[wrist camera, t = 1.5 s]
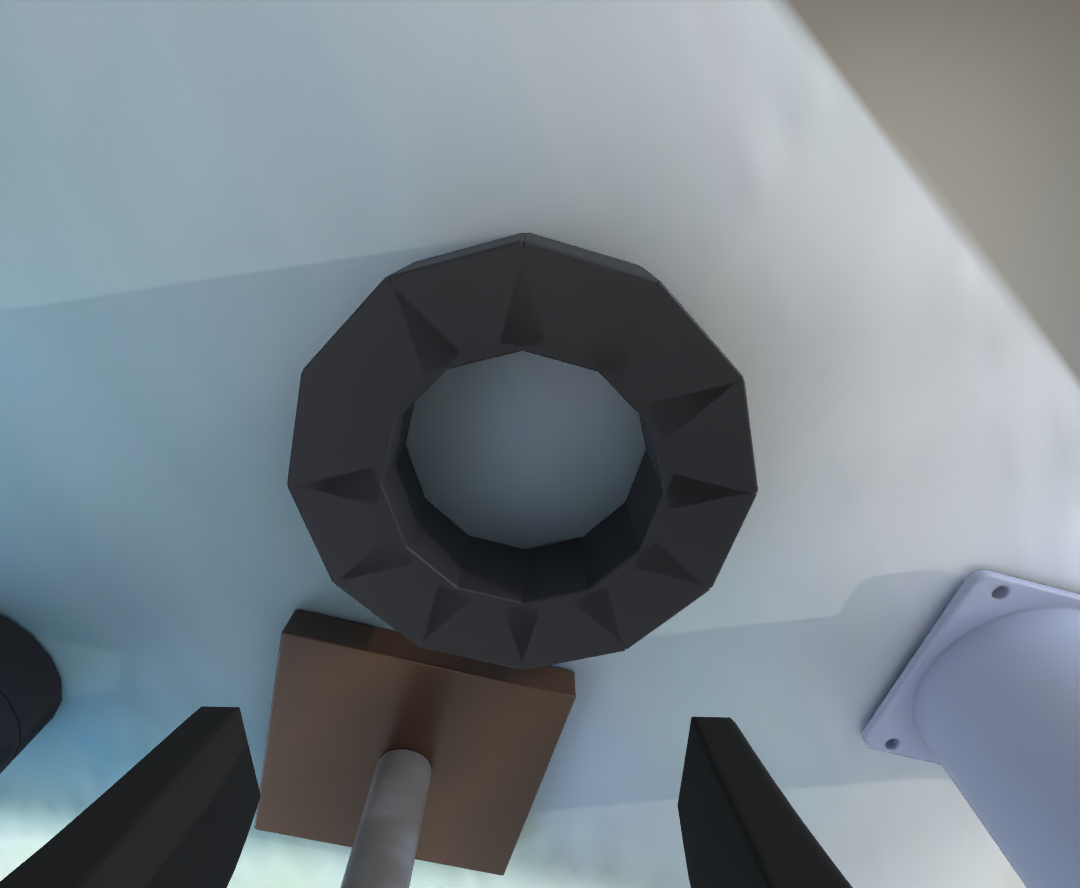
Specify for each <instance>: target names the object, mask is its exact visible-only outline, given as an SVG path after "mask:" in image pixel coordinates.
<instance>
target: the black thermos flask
mask: <svg viewBox="0 0 1080 888" xmlns="http://www.w3.org/2000/svg"><path fill="white" fill-rule="evenodd" d="M60 702H61V679H60V677H59V674H58V672H57V670H56V668H55V665H54V663H53V661H52V659H51V657H50V656H49V655H48V654H47V653H46V651H45V650H44V649H43V648H42V647H41V646H40V644H39V643H38V642H37V641H36V640H35V639H34V637H32V636H31V635H29V634H28V633H27V632H25V631H24V630H23V629H21V628H20V627H19V626H17V625H16V624H14V623H13V622H12V621H10V620H9V619H7V618H5V617H2V616H0V773H1V772H2V771H3V770H4V769H5V768H6V767H7V766H8V765H9V764H10V763H11V761H12V760H13V759H14V758H15V757H16V756H17V755H18V754H19V753H20V752H21V751H22V750H23V749H24V748H25V747H26V746H27V744H28V743H29V742H30V741H31V740H32V739H33V738H34V737H35V736H36V735H37V734H38V733H39V732H40V731H41V730H42V728H43V727H44V726H45V725H46V724H47V723H48V722H49V721H50V720H51V719H52V718H53V716H54V714H55V712H56V710H57V708H58V706H59V704H60Z"/></svg>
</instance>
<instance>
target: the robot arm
mask: <svg viewBox="0 0 1080 888" xmlns="http://www.w3.org/2000/svg"><path fill="white" fill-rule="evenodd" d="M997 587H999V588H998V589H996V590H995V591H993V590H994V589H995V588H997ZM862 738H863V740H864V742H865V743H866V745H867V746H868V747H869V748H871V749H874V750H879V751H883V752H888V753H892V754H897V755H901V756H906V757H910V758H915V759H919V760H924V761H928V762H933V763H937V764H941V765H942V766H943V768H944V769H945V771H946V772H947V773H948V775H949V776H950V778H951V779H952V781H953V782H954V784H955V785H956V786H957V788H958V789H959V791H960V792H961V794H962V795H963V797H964V798H965V799H966V801H967V802H968V804H969V805H970V807H971V808H972V810H973V811H974V812H975V814H976V815H977V817H978V818H979V820H980V821H981V823H982V824H983V825H984V827H985V828H986V830H987V831H988V833H989V834H990V836H991V837H992V838H993V840H994V841H995V843H996V844H997V846H998V847H999V849H1000V850H1001V851H1002V853H1003V854H1004V856H1005V857H1006V859H1007V860H1008V862H1009V863H1010V865H1011V866H1012V867H1013V869H1014V870H1015V872H1016V873H1017V875H1018V876H1019V878H1020V879H1021V880H1022V882H1023V883H1024V885H1025V886H1026V888H1080V594H1076V593H1073V592H1069V591H1065V590H1061V589H1057V588H1053V587H1050V586H1046V585H1042V584H1038V583H1034V582H1031V581H1027V580H1023V579H1019V578H1015V577H1011V576H1008V575H1004V574H1000V573H996V572H992V571H988V570H979V571H975V572H973V573H972V574H970V575H969V576H968V577H967V578H966V579H965V581H964V582H963V584H962V585H961V587H960V588H959V590H958V591H957V592H956V594H955V595H954V597H953V598H952V600H951V601H950V603H949V604H948V606H947V607H946V609H945V610H944V612H943V613H942V615H941V616H940V618H939V619H938V620H937V622H936V623H935V625H934V626H933V628H932V629H931V631H930V632H929V634H928V635H927V637H926V638H925V640H924V641H923V643H922V644H921V646H920V647H919V648H918V650H917V651H916V653H915V654H914V656H913V657H912V659H911V660H910V662H909V663H908V665H907V666H906V668H905V669H904V671H903V672H902V674H901V675H900V676H899V678H898V679H897V681H896V682H895V684H894V685H893V687H892V688H891V690H890V691H889V693H888V694H887V696H886V697H885V699H884V700H883V702H882V703H881V705H880V706H879V707H878V709H877V710H876V712H875V713H874V715H873V716H872V718H871V719H870V721H869V722H868V724H867V725H866V727H865V728H864V730H863V732H862ZM260 797H261V795H260V791H259V787H258V783H257V779H256V775H255V770H254V766H253V762H252V758H251V754H250V750H249V746H248V741H247V737H246V733H245V729H244V725H243V721H242V717H241V712H240V708H239V707H200V708H199V709H198V710H197V711H196V712H195V713H193V714H192V715H191V716H190V717H189V718H188V719H187V720H185V721H184V722H183V723H182V724H181V725H180V726H179V727H178V728H176V729H175V730H174V731H173V732H172V733H171V734H170V735H169V736H167V737H166V738H165V739H164V740H163V741H162V742H161V743H160V744H159V745H157V746H156V747H155V748H154V749H153V750H152V751H151V752H150V753H148V754H147V755H146V756H145V757H144V758H143V759H142V760H141V761H140V762H138V763H137V764H136V765H135V766H134V767H133V768H132V769H131V770H130V771H128V772H127V773H126V774H125V775H124V776H123V777H122V778H121V779H119V780H118V781H117V782H116V783H115V784H114V785H113V786H112V787H111V788H109V789H108V790H107V791H106V792H105V793H104V794H103V795H101V796H100V797H99V798H98V799H97V800H96V801H95V802H93V803H92V804H91V805H90V806H89V807H88V808H87V809H85V810H84V811H83V812H82V813H81V814H80V815H79V816H77V817H76V818H75V819H74V820H73V821H72V822H71V823H69V824H68V825H67V826H66V827H65V828H64V829H63V830H61V831H60V832H59V833H58V834H57V835H56V836H55V837H53V838H52V839H51V840H50V841H49V842H48V843H46V844H45V845H44V846H43V847H42V848H40V849H39V850H38V851H37V852H36V853H34V854H33V855H32V856H31V857H30V858H28V859H27V860H26V861H25V862H23V863H22V864H21V865H20V866H19V867H17V868H16V869H15V870H14V871H13V872H11V873H10V874H9V875H8V876H7V877H5V878H4V879H3V880H2V881H0V888H227V886H228V883H229V881H230V879H231V877H232V875H233V873H234V870H235V868H236V865H237V862H238V860H239V857H240V854H241V852H242V849H243V846H244V843H245V841H246V838H247V835H248V832H249V829H250V827H251V824H252V821H253V818H254V815H255V812H256V809H257V806H258V803H259V800H260ZM678 810H679V817H680V824H681V831H682V838H683V844H684V851H685V857H686V863H687V869H688V876H689V881H690V885H691V888H852V886H851V885H850V884H849V882H848V881H847V880H846V879H845V877H844V876H843V875H842V873H841V872H840V871H839V870H838V868H837V867H836V865H835V864H834V863H833V861H832V860H831V859H830V857H829V856H828V855H827V853H826V852H825V851H824V849H823V848H822V847H821V845H820V844H819V843H818V841H817V840H816V839H815V837H814V836H813V835H812V833H811V832H810V831H809V829H808V828H807V827H806V825H805V824H804V823H803V821H802V820H801V818H800V817H799V816H798V814H797V813H796V812H795V810H794V809H793V807H792V806H791V805H790V803H789V802H788V800H787V799H786V797H785V796H784V795H783V793H782V792H781V790H780V789H779V787H778V786H777V784H776V783H775V782H774V780H773V779H772V777H771V776H770V774H769V773H768V771H767V770H766V768H765V767H764V765H763V764H762V763H761V761H760V760H759V758H758V757H757V755H756V754H755V752H754V751H753V749H752V747H751V746H750V744H749V743H748V741H747V740H746V738H745V737H744V735H743V734H742V732H741V731H740V729H739V728H738V726H737V724H736V723H735V722H734V721H733V720H732V719H731V718H721V717H692V718H691V724H690V731H689V737H688V743H687V750H686V756H685V762H684V769H683V775H682V782H681V788H680V794H679V801H678Z"/></svg>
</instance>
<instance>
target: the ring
mask: <svg viewBox="0 0 1080 888" xmlns="http://www.w3.org/2000/svg"><path fill="white" fill-rule="evenodd" d="M522 350H523V351H526V352H530V353H533V354H537V355H541V356H544V357H548V358H551V359H555V360H559V361H562V362H566V363H569V364H573V365H576V366H580V367H584V368H587V369H591V370H594V371H598V372H599V373H600V374H601V375H602V376H603V377H604V378H605V379H606V380H607V381H608V382H609V383H610V384H611V385H612V386H613V387H614V388H615V389H616V390H617V391H618V393H619V394H620V395H621V396H622V397H623V398H624V399H625V400H626V401H627V402H628V403H629V404H630V405H631V406H632V407H633V408H634V409H635V410H636V411H637V412H638V413H639V416H640V421H641V426H642V431H643V436H644V441H645V446H646V451H645V454H644V457H643V459H642V462H641V464H640V467H639V470H638V472H637V475H636V477H635V480H634V483H633V485H632V488H631V490H630V493H629V496H628V498H627V501H626V503H624V504H623V505H622V506H621V507H619V508H618V509H617V510H616V511H614V512H613V513H612V514H611V515H610V516H608V517H607V518H606V519H605V520H603V521H602V522H601V523H600V524H598V525H597V526H596V527H595V528H593V529H592V530H591V531H590V532H589V533H587V534H586V535H585V536H584V537H582V538H577V539H572V540H568V541H563V542H558V543H554V544H549V545H544V546H539V547H535V548H530V549H525V550H524V549H520V548H516V547H512V546H508V545H504V544H500V543H495V542H491V541H487V540H483V539H479V538H475V537H471V536H468V535H467V534H466V533H465V532H464V531H462V530H461V529H460V528H459V527H458V526H457V525H455V524H454V523H453V522H452V521H451V520H449V519H448V518H447V517H446V516H445V515H444V514H442V513H441V512H440V511H439V510H438V509H436V508H435V507H434V506H433V505H432V504H431V503H429V502H428V501H427V500H426V499H425V497H424V494H423V492H422V489H421V486H420V483H419V481H418V478H417V475H416V473H415V470H414V467H413V465H412V462H411V459H410V457H409V454H408V451H407V448H406V446H405V444H406V439H407V434H408V430H409V425H410V420H411V415H412V411H413V406H414V402H415V401H416V400H417V399H418V398H419V397H420V396H421V395H422V394H423V393H424V392H425V391H426V390H427V389H428V388H429V387H430V386H431V385H432V384H433V383H434V382H435V381H436V380H437V379H438V378H439V377H440V376H441V375H442V374H443V373H444V372H445V371H446V370H447V369H450V368H454V367H458V366H462V365H466V364H470V363H474V362H478V361H482V360H486V359H490V358H494V357H498V356H502V355H506V354H510V353H514V352H518V351H522ZM287 483H288V488H289V490H290V492H291V495H292V497H293V499H294V501H295V503H296V505H297V507H298V509H299V512H300V514H301V516H302V518H303V520H304V522H305V524H306V527H307V529H308V531H309V533H310V535H311V537H312V539H313V541H314V544H315V546H316V548H317V550H318V552H319V554H320V556H321V558H322V561H323V563H324V565H325V567H326V569H327V571H328V573H329V576H330V578H331V580H332V582H335V584H336V585H337V586H338V587H340V588H341V589H342V590H344V591H345V592H346V593H347V594H349V595H350V596H351V597H353V598H354V599H355V600H357V601H358V602H359V603H361V604H362V605H363V606H365V607H366V608H367V609H369V610H370V611H371V612H373V613H374V614H375V615H377V616H378V617H379V618H381V619H382V620H383V621H385V622H386V623H387V624H389V625H390V626H391V627H393V628H394V629H395V630H397V631H398V632H399V633H401V634H402V635H403V636H405V637H406V638H407V639H409V640H410V641H411V642H413V643H414V644H415V645H417V646H419V645H420V647H421V648H426V649H430V650H435V651H439V652H444V653H448V654H453V655H457V656H462V657H466V658H471V659H475V660H480V661H484V662H489V663H493V664H498V665H502V666H507V667H511V668H516V669H523V670H526V669H531V668H537V667H542V666H547V665H552V664H558V663H563V662H568V661H573V660H579V659H584V658H589V657H594V656H600V655H605V654H610V653H615V652H621V651H624V650H625V649H628V648H629V647H631V646H632V645H634V644H635V643H636V642H638V641H639V640H641V639H642V638H643V637H645V636H646V635H648V634H649V633H650V632H652V631H653V630H654V629H656V628H657V627H659V626H660V625H661V624H663V623H664V622H666V621H667V620H668V619H670V618H671V617H673V616H674V615H675V614H677V613H678V612H680V611H681V610H682V609H684V608H685V607H686V606H688V605H689V604H691V603H692V602H693V601H695V600H696V599H698V598H699V597H700V596H702V595H703V594H705V593H706V592H707V591H709V589H710V588H711V587H712V586H713V584H714V582H715V580H716V578H717V576H718V574H719V572H720V570H721V568H722V565H723V563H724V561H725V559H726V557H727V555H728V553H729V551H730V549H731V547H732V545H733V543H734V540H735V538H736V536H737V534H738V532H739V530H740V528H741V526H742V524H743V522H744V520H745V518H746V515H747V513H748V511H749V509H750V507H751V505H752V503H753V501H754V499H755V497H756V494H757V492H758V486H757V478H756V470H755V462H754V454H753V446H752V438H751V430H750V422H749V414H748V406H747V398H746V390H745V382H744V379H743V376H742V375H741V373H740V372H739V371H738V370H737V369H736V368H735V367H734V365H733V364H732V363H731V362H730V361H729V360H728V358H727V357H726V356H725V355H724V354H723V353H722V352H721V350H720V349H719V348H718V347H717V346H716V345H715V344H714V342H713V341H712V340H711V339H710V338H709V337H708V336H707V334H706V333H705V332H704V331H703V330H702V329H701V328H700V326H699V325H698V324H697V323H696V322H695V321H694V319H693V318H692V317H691V316H690V315H689V314H688V313H687V311H686V310H685V309H684V308H683V307H682V306H681V305H680V303H679V302H678V301H677V300H676V299H675V298H674V297H673V295H672V294H671V293H670V292H669V291H668V290H667V289H666V287H665V286H664V285H663V284H662V283H661V282H660V281H659V280H658V279H656V278H655V277H654V276H653V275H651V274H650V273H649V272H647V271H646V270H645V269H644V268H642V267H640V266H639V265H636V264H632V263H629V262H626V261H622V260H619V259H616V258H612V257H609V256H606V255H602V254H599V253H596V252H592V251H589V250H585V249H582V248H579V247H575V246H572V245H569V244H565V243H562V242H559V241H555V240H552V239H549V238H545V237H542V236H539V235H535V234H532V233H527V234H526V233H520V234H517V235H513V236H509V237H506V238H502V239H498V240H494V241H491V242H487V243H483V244H480V245H476V246H472V247H468V248H465V249H461V250H457V251H454V252H450V253H446V254H443V255H439V256H435V257H431V258H428V259H424V260H420V261H417V262H414V263H412V264H410V265H408V266H406V267H404V268H402V269H401V270H399V271H397V272H395V273H393V274H391V275H390V276H388V277H386V278H384V280H383V281H382V282H381V283H380V284H379V285H378V286H377V287H376V289H375V290H374V291H373V292H372V293H371V294H370V295H369V296H368V297H367V299H366V300H365V301H364V302H363V303H362V304H361V305H360V306H359V307H358V309H357V310H356V311H355V312H354V313H353V314H352V315H351V316H350V318H349V319H348V320H347V321H346V322H345V323H344V324H343V325H342V326H341V328H340V329H339V330H338V331H337V332H336V333H335V334H334V335H333V336H332V338H331V339H330V340H329V341H328V342H327V343H326V344H325V345H324V347H323V348H322V349H321V350H320V351H319V352H318V353H317V354H316V355H315V357H314V358H313V359H312V360H311V361H310V362H309V363H308V364H307V365H306V367H305V368H304V369H303V372H302V373H301V380H300V388H299V396H298V404H297V411H296V419H295V427H294V435H293V443H292V450H291V458H290V466H289V474H288V482H287Z"/></svg>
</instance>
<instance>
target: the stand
mask: <svg viewBox="0 0 1080 888" xmlns="http://www.w3.org/2000/svg"><path fill="white" fill-rule="evenodd" d="M575 698H576V693H575V677H574V672H573V671H568V670H564V669H559V668H555V667H550V666H542V667H537V668H531V669H526V670H523V669H516V668H511V667H507V666H502V665H498V664H493V663H489V662H484V661H480V660H475V659H471V658H466V657H462V656H457V655H453V654H448V653H444V652H439V651H435V650H430V649H426V648H421V647H420V645H419V646H417V645H415V644H414V643H413V642H411V641H410V640H409V639H407V638H406V637H405V636H403V635H402V634H401V633H399V632H395V631H390V630H386V629H381V628H377V627H372V626H368V625H364V624H359V623H355V622H350V621H346V620H341V619H337V618H332V617H328V616H324V615H319V614H315V613H310V612H306V611H301V610H295V611H294V613H293V615H292V616H291V618H290V620H289V621H288V623H287V625H286V626H285V628H284V630H283V631H282V634H281V641H280V649H279V656H278V663H277V670H276V677H275V684H274V692H273V699H272V706H271V713H270V720H269V727H268V735H267V742H266V749H265V756H264V763H263V770H262V778H261V785H260V795H261V797H260V800H259V803H258V806H257V813H256V821H255V829H257V830H262V831H268V832H273V833H278V834H284V835H289V836H294V837H300V838H305V839H310V840H316V841H321V842H326V843H332V844H337V845H342V846H348V847H352V850H351V854H350V857H349V861H348V864H347V867H346V871H345V874H344V878H343V881H342V884H341V888H409V886H410V881H411V876H412V870H413V865H414V860H415V859H417V860H423V861H428V862H433V863H439V864H444V865H449V866H455V867H460V868H465V869H471V870H476V871H481V872H487V873H492V874H497V875H504V873H505V870H506V868H507V865H508V863H509V860H510V858H511V855H512V853H513V851H514V848H515V846H516V843H517V841H518V838H519V836H520V833H521V831H522V828H523V826H524V823H525V821H526V819H527V816H528V814H529V811H530V809H531V806H532V804H533V801H534V799H535V796H536V794H537V791H538V789H539V786H540V784H541V782H542V779H543V777H544V774H545V772H546V769H547V767H548V764H549V762H550V759H551V757H552V754H553V752H554V750H555V747H556V745H557V742H558V740H559V737H560V735H561V732H562V730H563V727H564V725H565V722H566V720H567V718H568V715H569V713H570V710H571V708H572V705H573V703H574V700H575Z"/></svg>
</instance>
